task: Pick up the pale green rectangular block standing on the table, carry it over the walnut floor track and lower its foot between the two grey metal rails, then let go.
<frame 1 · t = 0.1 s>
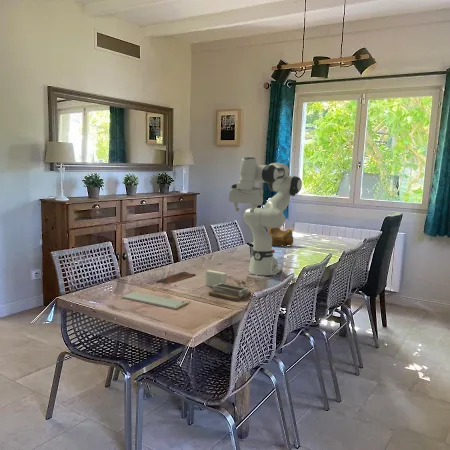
hand: (244, 211, 243), 39 cm above the table, tool pointing down, fingers open, 8 cm apart
baseboard molding: (156, 301, 209), on the table
rough brown rock: (276, 245, 358), on the table
pale green rectangular block: (215, 286, 235), on the table
track base: (230, 294, 221), on the table
wooden tablet: (175, 279, 250), on the table
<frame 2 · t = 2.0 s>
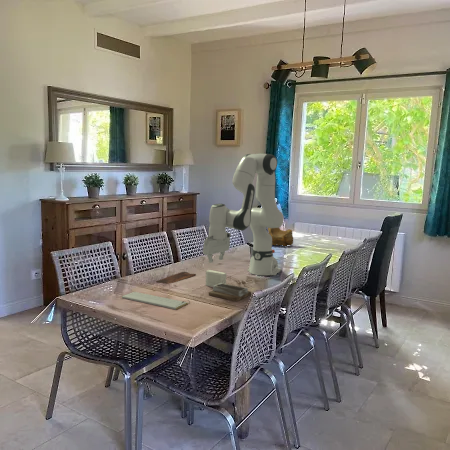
hand: (216, 261, 233), 14 cm above the table, tool pointing down, fingers open, 8 cm apart
nothing on the table moved.
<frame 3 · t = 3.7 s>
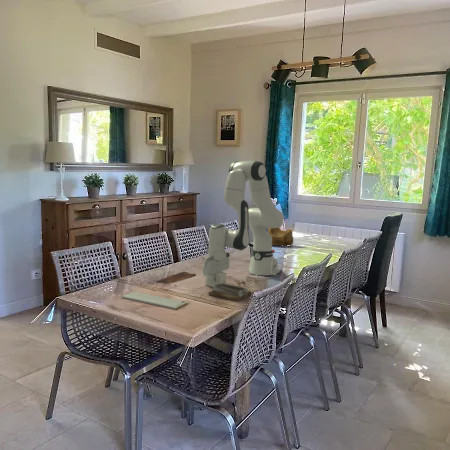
hand: (215, 280, 235), 3 cm above the table, tool pointing down, fingers closed on pale green rectangular block, 3 cm apart
pale green rectangular block: (215, 286, 235), on the table, touching gripper
everything else where it was.
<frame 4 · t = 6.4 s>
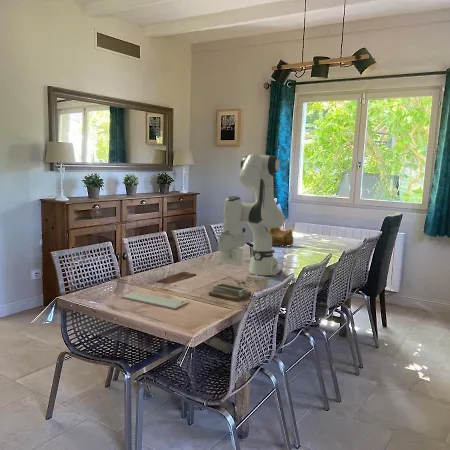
hand: (231, 257, 218), 19 cm above the table, tool pointing down, fingers closed on pale green rectangular block, 3 cm apart
pale green rectangular block: (230, 263, 219), point 16 cm above the table, touching gripper
everything else where it was.
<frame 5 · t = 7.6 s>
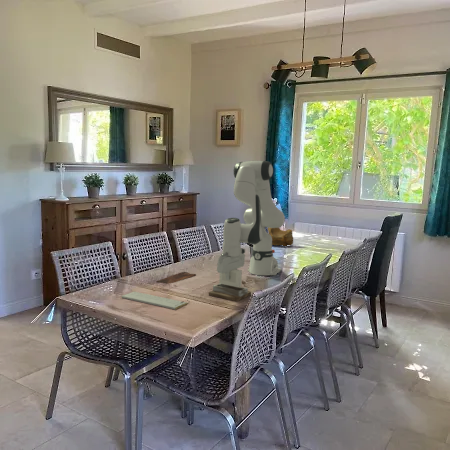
hand: (230, 278, 220), 8 cm above the table, tool pointing down, fingers closed on pale green rectangular block, 3 cm apart
pale green rectangular block: (230, 284, 220), point 5 cm above the table, touching gripper
everything else where it was.
when the fingers open (6 cm above the table, at t = 8.7 s): pale green rectangular block drops 1 cm, resting on track base.
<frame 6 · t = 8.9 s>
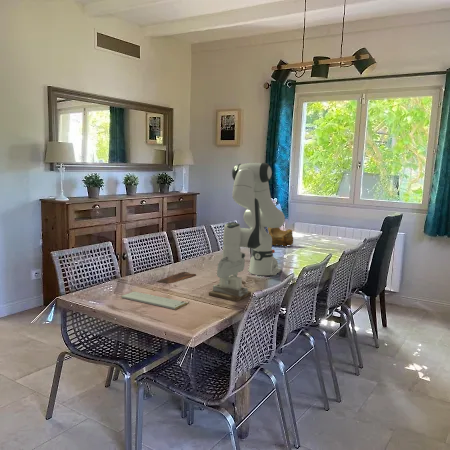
hand: (230, 283, 220), 6 cm above the table, tool pointing down, fingers open, 5 cm apart
pale green rectangular block: (230, 291, 221), point 1 cm above the table, touching track base
everything else where it was.
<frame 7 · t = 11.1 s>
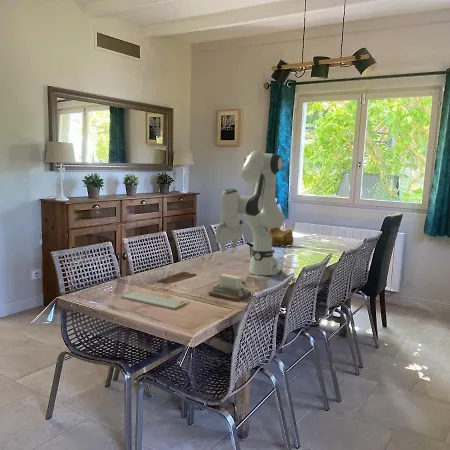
hand: (228, 249, 222), 22 cm above the table, tool pointing down, fingers open, 8 cm apart
nothing on the table moved.
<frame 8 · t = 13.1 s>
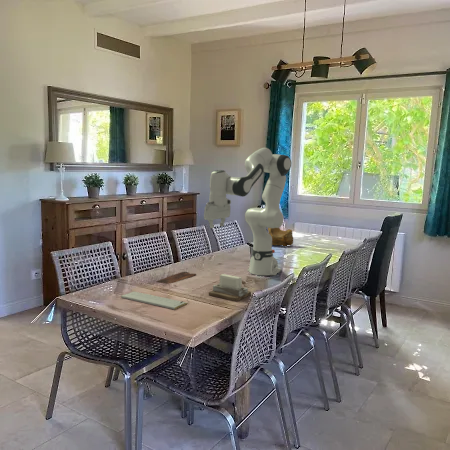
hand: (216, 227, 236), 31 cm above the table, tool pointing down, fingers open, 8 cm apart
nothing on the table moved.
at the end: pale green rectangular block inside the target area on the track base (0.1 cm from its centre), point 1.5 cm above the track base's base; pale green rectangular block tilted 0°; the gripper is holding nothing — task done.
